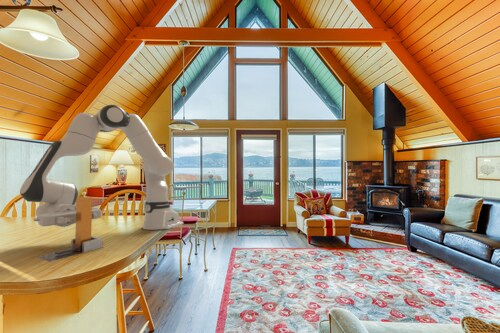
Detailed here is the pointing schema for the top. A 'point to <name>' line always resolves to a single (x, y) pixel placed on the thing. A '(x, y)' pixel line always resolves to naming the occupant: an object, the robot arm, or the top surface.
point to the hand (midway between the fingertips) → (82, 218)
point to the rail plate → (55, 257)
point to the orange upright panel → (81, 224)
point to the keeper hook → (90, 244)
